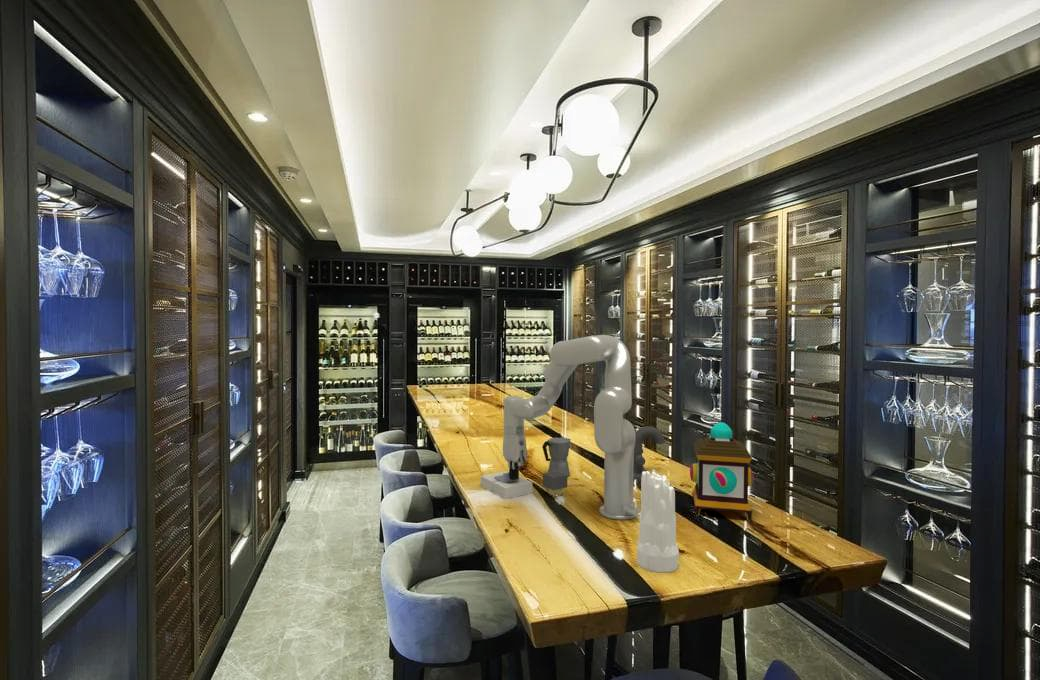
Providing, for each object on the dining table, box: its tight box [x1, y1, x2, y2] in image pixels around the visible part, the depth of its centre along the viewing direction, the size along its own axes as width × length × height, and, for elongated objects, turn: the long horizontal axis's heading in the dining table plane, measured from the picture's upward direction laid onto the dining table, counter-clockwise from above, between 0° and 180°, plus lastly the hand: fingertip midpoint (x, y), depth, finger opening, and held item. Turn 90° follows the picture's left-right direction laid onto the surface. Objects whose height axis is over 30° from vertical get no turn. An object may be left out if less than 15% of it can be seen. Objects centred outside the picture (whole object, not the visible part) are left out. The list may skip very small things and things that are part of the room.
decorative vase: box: [636, 468, 680, 573], centre depth 139 cm, size 11×11×25 cm
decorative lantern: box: [689, 422, 754, 522], centre depth 178 cm, size 20×20×30 cm
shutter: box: [494, 471, 519, 483], centre depth 200 cm, size 7×7×3 cm
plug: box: [542, 471, 568, 497], centre depth 195 cm, size 6×6×8 cm
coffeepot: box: [542, 432, 571, 479], centre depth 216 cm, size 15×9×18 cm, turn 129°
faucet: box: [633, 425, 666, 480], centre depth 221 cm, size 18×16×20 cm
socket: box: [480, 470, 533, 500], centre depth 201 cm, size 18×12×4 cm, turn 34°
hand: (514, 478), depth 196 cm, fingers closed
